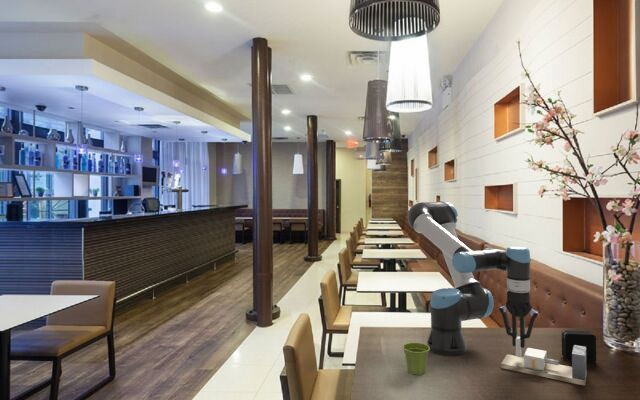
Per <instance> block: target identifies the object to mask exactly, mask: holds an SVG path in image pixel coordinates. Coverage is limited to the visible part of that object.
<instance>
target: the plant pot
mask: <svg viewBox="0 0 640 400" xmlns="http://www.w3.org/2000/svg"><path fill="white" fill-rule="evenodd" d="M402 349H403V352H404V354H405V355H404V356H405V362H406V368H407V372H408V373H410V374H411V375H416V376H421V375H424V374H425V373H426V371H427V364H428V363H427V362H428V355H429V352H430V351H429V350H430V347H429V346H428V345H427V343H426V344H425V343H421V342H408V343H404V344H403V345H402Z"/></svg>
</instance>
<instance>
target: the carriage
mask: <svg viewBox="0 0 640 400" xmlns="http://www.w3.org/2000/svg"><path fill="white" fill-rule="evenodd" d="M547 354H548V352H547V350H542V349H538V348H531V347H527V348H526V349H525V352H524V354H523V357H524V366H525V367H529V368H534V369H539V370H544V368H545V366H546V363H548V364H553V365H558V366H559V365H560V363H559V362H560V361H559V360H557V359H553V358H548V356H547Z"/></svg>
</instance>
